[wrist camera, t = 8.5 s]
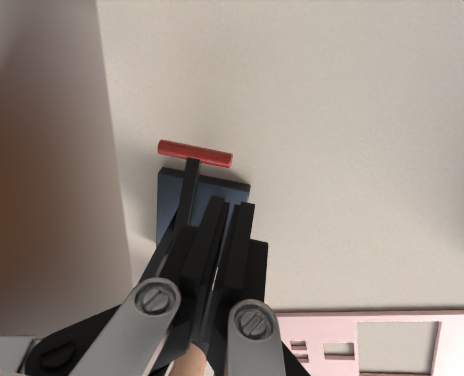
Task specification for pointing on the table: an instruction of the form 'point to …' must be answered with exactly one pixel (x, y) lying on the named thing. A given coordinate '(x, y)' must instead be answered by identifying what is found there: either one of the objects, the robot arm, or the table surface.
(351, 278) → the table surface
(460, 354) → the panel
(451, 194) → the table surface
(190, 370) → the travel mug
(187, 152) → the lever
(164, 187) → the bracket
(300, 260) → the table surface
